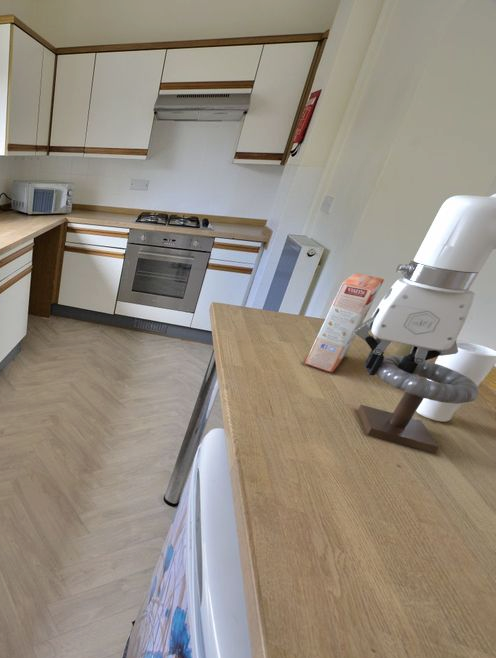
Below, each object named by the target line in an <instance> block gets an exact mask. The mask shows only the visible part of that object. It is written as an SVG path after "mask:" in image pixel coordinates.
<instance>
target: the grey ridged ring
mask: <svg viewBox="0 0 496 658" xmlns="http://www.w3.org/2000/svg"><path fill="white" fill-rule="evenodd" d="M383 356H384V359H383V361H382V363H381V365H380V366H379V368H378V370H377V372H376V374H375V375H376V376H377V377H378V378H379V379H380V380H382V381H384V382H385V383H386V384H388V385H389V386H392V387H394V388H395V389H398V390H400V391H402V392H404V393H405V392H407V393H410V394H413V395H416V396H419V397H422V398H426V399H430V400H434V401H438V402H445V403H453V404H459V403H463V404H465V403H471V402H473V401H475V400H476V399H477V397H478V395H479V394H480V389H479V385H478V386H477V385H476V384H475V383H474V382H473V381H472V380H471V379H469V378H468V377H466V376H464V375H462V374H460V373H459V372H457V371H454V370H452V369H449V368H447V367H444V366H442V365H439V364H435V362H431V361H428V360H426V361H424V362H423V363H421V364H418V365H417V367H416V369H415V370H414V372H413V374H410V373H408V372H405V371H403V370H402V369H400V368H398V366H399V364H400V362H401V360H402V359H403V357H405V356H394V355H383ZM427 379H429V380H432V381H429V380H427Z"/></svg>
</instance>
